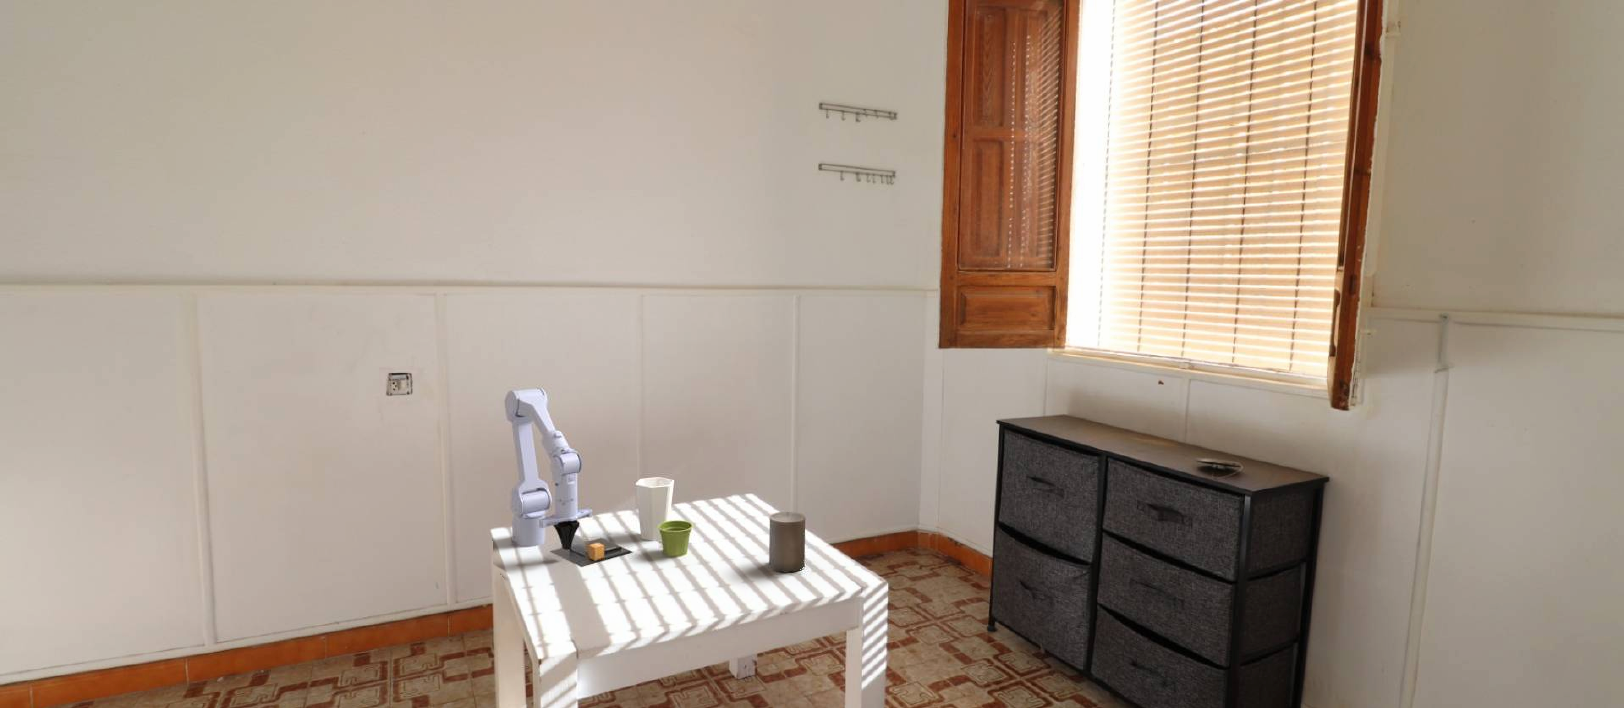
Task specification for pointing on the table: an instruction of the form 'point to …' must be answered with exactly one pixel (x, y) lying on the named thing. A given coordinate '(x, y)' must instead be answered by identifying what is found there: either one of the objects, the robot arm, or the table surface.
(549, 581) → the table surface
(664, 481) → the cup
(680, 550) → the plant pot
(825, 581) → the table surface
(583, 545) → the gate
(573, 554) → the console
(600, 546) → the fader
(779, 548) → the pillar candle
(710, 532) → the table surface
